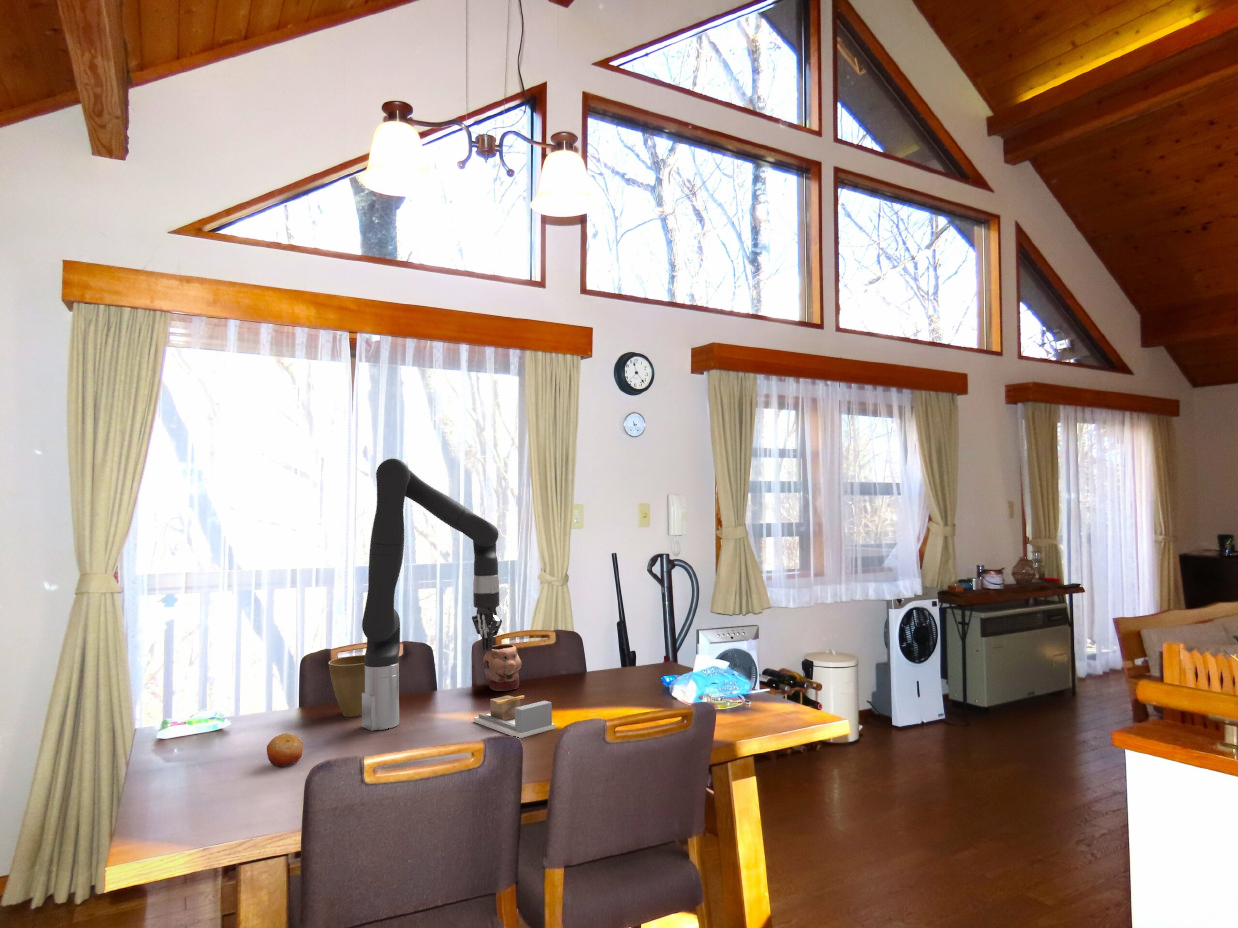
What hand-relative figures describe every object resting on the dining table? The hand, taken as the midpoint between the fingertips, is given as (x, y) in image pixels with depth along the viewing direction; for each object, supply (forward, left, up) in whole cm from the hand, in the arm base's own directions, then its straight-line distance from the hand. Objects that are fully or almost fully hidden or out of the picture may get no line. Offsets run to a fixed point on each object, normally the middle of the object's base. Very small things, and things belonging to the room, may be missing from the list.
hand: (487, 650), depth 222 cm
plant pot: (-26, +32, -19) cm, 45 cm away
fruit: (-57, +1, -19) cm, 60 cm away
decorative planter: (+22, +26, -19) cm, 39 cm away
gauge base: (0, -13, -19) cm, 23 cm away
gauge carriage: (0, -9, -18) cm, 20 cm away
